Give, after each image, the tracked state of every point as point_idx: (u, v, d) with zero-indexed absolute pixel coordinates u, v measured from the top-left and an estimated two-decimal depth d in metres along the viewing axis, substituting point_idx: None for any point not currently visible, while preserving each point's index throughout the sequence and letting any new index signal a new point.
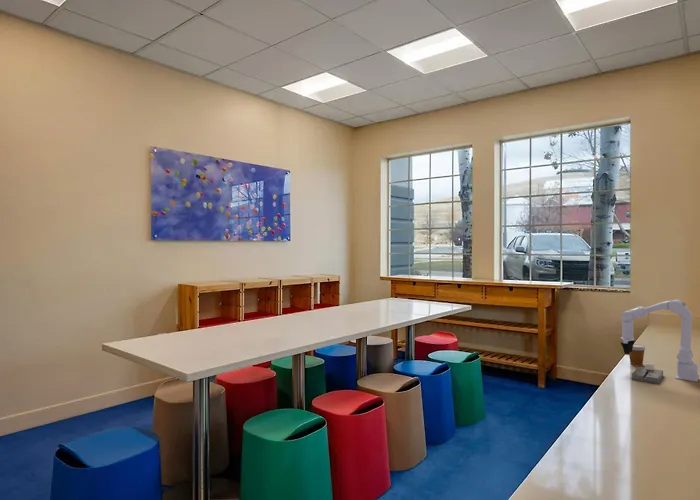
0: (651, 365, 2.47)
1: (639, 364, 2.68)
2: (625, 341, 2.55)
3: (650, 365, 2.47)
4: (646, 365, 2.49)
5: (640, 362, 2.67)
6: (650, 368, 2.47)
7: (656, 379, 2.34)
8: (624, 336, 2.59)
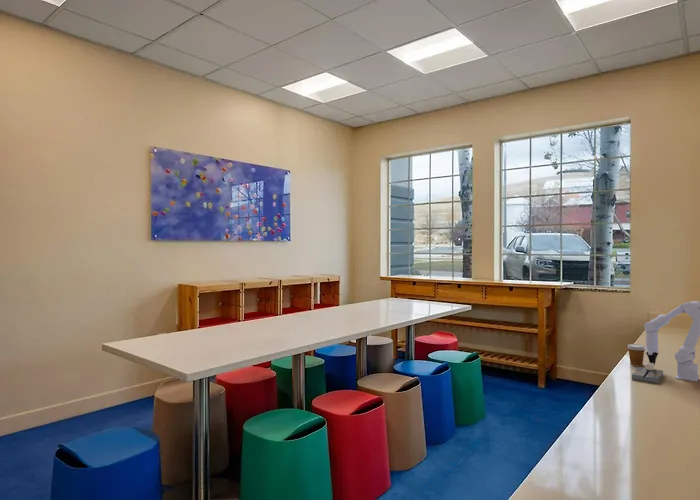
0: (651, 365, 2.47)
1: (639, 364, 2.68)
2: (650, 352, 2.50)
3: (650, 365, 2.47)
4: (646, 365, 2.49)
5: (640, 362, 2.67)
6: (650, 368, 2.47)
7: (656, 379, 2.34)
8: (648, 347, 2.55)
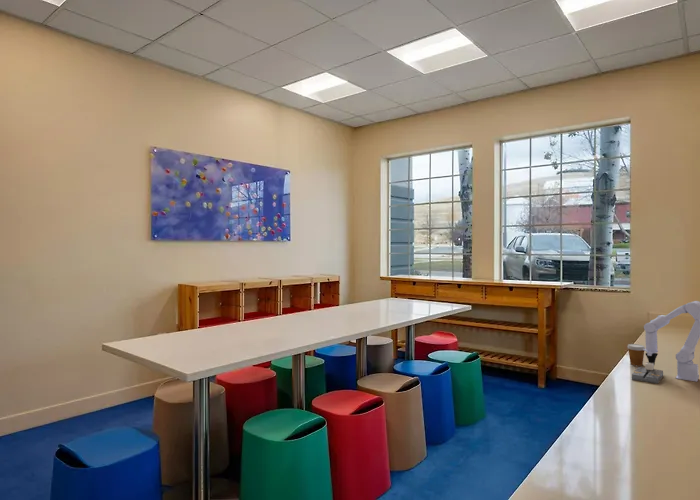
0: (651, 365, 2.47)
1: (639, 364, 2.68)
2: (649, 353, 2.49)
3: (650, 365, 2.47)
4: (646, 365, 2.49)
5: (640, 362, 2.67)
6: (650, 368, 2.47)
7: (656, 379, 2.34)
8: (648, 348, 2.53)
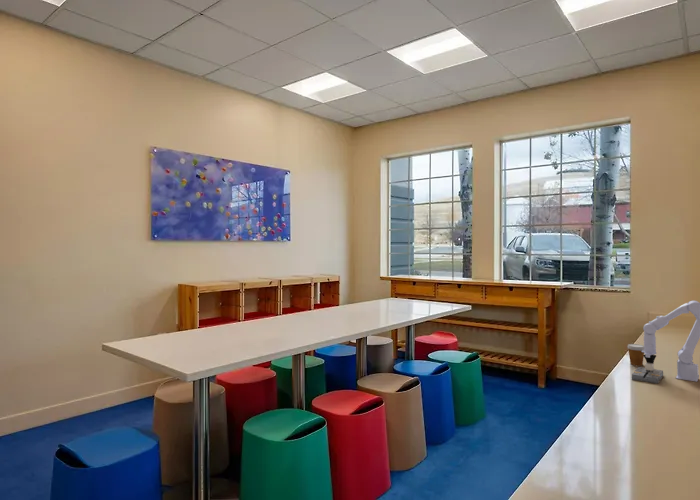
0: (651, 365, 2.46)
1: (639, 364, 2.68)
2: (647, 355, 2.45)
3: (650, 365, 2.47)
4: (646, 365, 2.48)
5: (640, 362, 2.67)
6: (650, 368, 2.47)
7: (656, 379, 2.34)
8: (646, 350, 2.49)
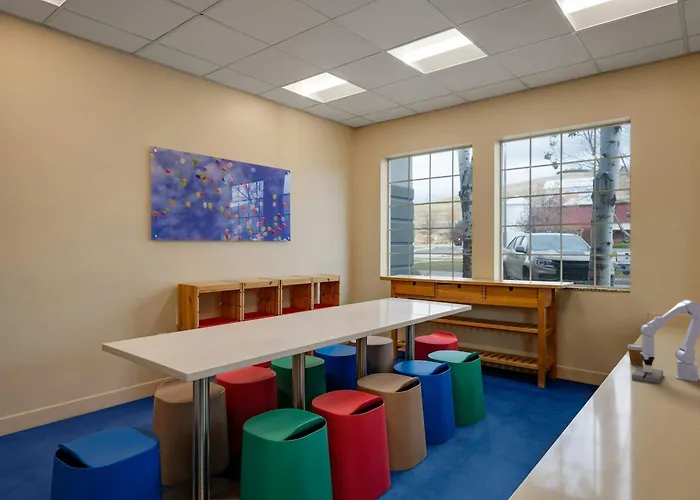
0: (649, 367, 2.43)
1: (639, 364, 2.68)
2: (646, 357, 2.41)
3: (648, 367, 2.43)
4: (644, 367, 2.44)
5: (640, 362, 2.67)
6: (648, 370, 2.43)
7: (656, 379, 2.34)
8: (644, 351, 2.46)
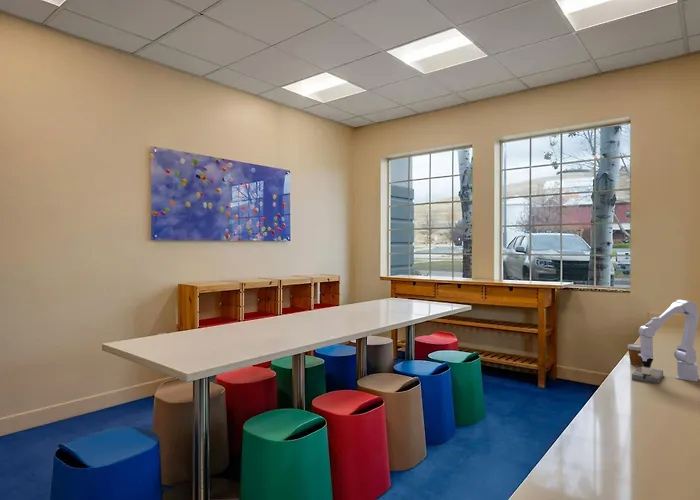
0: (648, 369, 2.39)
1: (639, 364, 2.68)
2: (644, 359, 2.38)
3: (647, 369, 2.39)
4: (642, 369, 2.41)
5: (640, 362, 2.67)
6: (647, 372, 2.40)
7: (656, 379, 2.34)
8: (643, 353, 2.42)
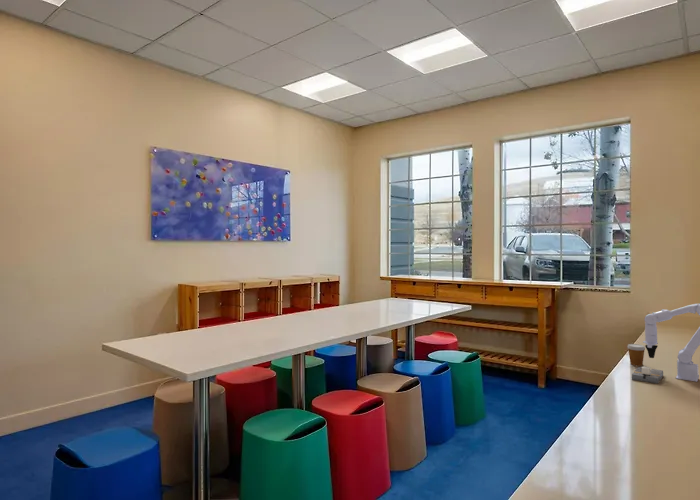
0: (648, 369, 2.39)
1: (639, 364, 2.68)
2: (649, 345, 2.46)
3: (647, 369, 2.39)
4: (642, 369, 2.41)
5: (640, 362, 2.67)
6: (647, 372, 2.40)
7: (656, 379, 2.34)
8: (647, 340, 2.50)
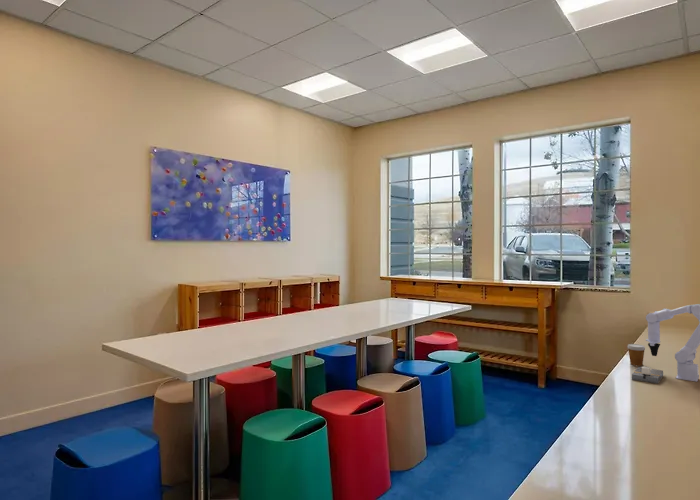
0: (648, 369, 2.39)
1: (639, 364, 2.68)
2: (652, 343, 2.50)
3: (647, 369, 2.39)
4: (642, 369, 2.41)
5: (640, 362, 2.67)
6: (647, 372, 2.40)
7: (656, 379, 2.34)
8: (650, 338, 2.54)
